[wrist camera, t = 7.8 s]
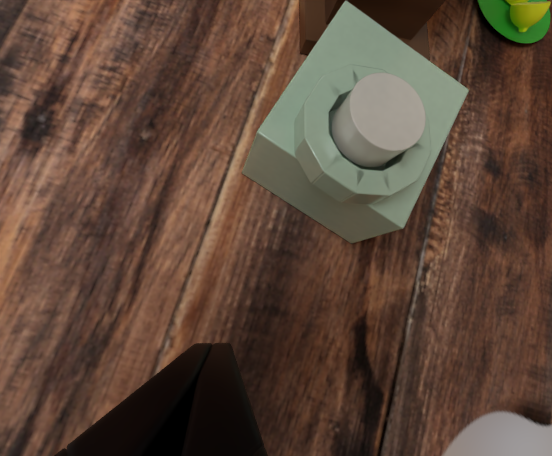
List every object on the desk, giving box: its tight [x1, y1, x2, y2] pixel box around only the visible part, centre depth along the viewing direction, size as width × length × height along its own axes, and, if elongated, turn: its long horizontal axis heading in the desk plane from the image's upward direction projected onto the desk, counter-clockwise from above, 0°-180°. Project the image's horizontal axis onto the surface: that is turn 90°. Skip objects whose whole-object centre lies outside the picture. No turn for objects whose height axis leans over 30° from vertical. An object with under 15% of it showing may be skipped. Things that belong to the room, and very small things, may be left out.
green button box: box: [242, 1, 469, 243], centre depth 20 cm, size 11×9×8 cm
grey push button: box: [332, 73, 426, 167], centre depth 15 cm, size 4×4×2 cm
